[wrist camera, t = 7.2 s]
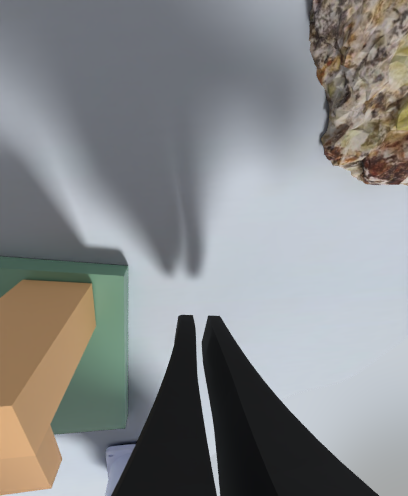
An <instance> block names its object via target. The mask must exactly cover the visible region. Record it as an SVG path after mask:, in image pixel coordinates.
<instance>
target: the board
mask: <svg viewBox="0 0 408 496" xmlns="http://www.w3.org/2000/svg"><path fill="white" fill-rule="evenodd" d="M22 280H39V281H57V282H75V283H92V289H93V300H94V310H95V320H96V327H95V329H94V332H93V334H92V336H91V338H90V340H89V342H88V344H87V347H86V349H85V351H84V353H83V355H82V357H81V359H80V361H79V364H78V366H77V368H76V370H75V372H74V374H73V376H72V379H71V381H70V383H69V385H68V387H67V389H66V391H65V394H64V396H63V398H62V400H61V402H60V404H59V406H58V409H57V411H56V413H55V415H54V417H53V419H52V421H51V424H50V425H51V428H52V431H53V434H65V433H77V432H88V431H100V430H112V429H124V428H125V427H126V422H127V416H128V266H124V265H110V264H97V263H83V262H70V261H56V260H43V259H29V258H16V257H2V256H0V298H1V297H2V296H3V295H5V294H6V293H7V292H8V291H9V290H11V289H12V288H13V287H14V286H16V285H17V284H18V283H19V282H20V281H22Z"/></svg>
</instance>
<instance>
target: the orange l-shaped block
mask: <svg viewBox="0 0 408 496" xmlns="http://www.w3.org/2000/svg"><path fill="white" fill-rule="evenodd" d="M95 327H96V320H95V310H94V300H93V289H92V283H75V282H57V281H39V280H22V281H20V282H19V283H18V284H17V285H16V286H14V287H13V288H12V289H11V290H9V291H8V292H7V293H6V294H5V295H3V296H2V297H1V298H0V495H5V494H13V493H20V492H28V491H35V490H42V489H50V488H52V485H53V482H54V480H55V477H56V474H57V472H58V469H59V466H60V463H61V461H62V457H61V454H60V451H59V448H58V445H57V442H56V440H55V437H54V434H53V431H52V428H51V425H50V424H51V421H52V419H53V417H54V415H55V413H56V411H57V409H58V406H59V404H60V402H61V400H62V398H63V396H64V394H65V391H66V389H67V387H68V385H69V383H70V381H71V379H72V376H73V374H74V372H75V370H76V368H77V366H78V364H79V361H80V359H81V357H82V355H83V353H84V351H85V349H86V347H87V344H88V342H89V340H90V338H91V336H92V334H93V332H94V329H95Z"/></svg>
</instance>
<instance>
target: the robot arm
mask: <svg viewBox="0 0 408 496" xmlns="http://www.w3.org/2000/svg"><path fill="white" fill-rule="evenodd" d="M202 355H203V365H204V371H205V377H206V383H207V389H208V394H209V400H210V406H211V411H212V417H213V424H214V432H215V442H216V452H217V463H218V474H219V486H220V496H379V495H378V494H377V493H375V492H374V491H373V490H372V489H371V488H370V487H369V486H367V485H366V484H365V483H364V482H363V481H362V480H361V479H359V477H357V476H356V475H355V474H354V473H353V472H352V471H351V470H349V469H348V468H347V467H346V466H345V465H344V464H342V462H340V461H339V460H338V459H337V458H336V457H335V456H334V455H333V454H332V453H331V452H330V451H329V450H328V449H327V448H326V447H325V446H324V445H322V443H320V442H319V441H318V440H317V439H316V438H315V436H314V435H313V434H312V433H310V431H308V429H307V428H306V427H305V426H304V425H303V424H302V423H301V422H300V421H299V420H298V419H297V418H296V417H295V416H294V415H293V414H292V413H291V412H290V411H289V409H288V408H287V407H286V406H285V405H284V404H283V403H282V402H281V400H280V399H279V398H278V397H277V396H276V395H275V394H274V392H273V391H272V390H271V389H270V388H269V386H268V385H267V384H266V383H265V381H264V380H263V379H262V378H261V376H260V375H259V374H258V372H257V371H256V370H255V368H254V367H253V366H252V364H251V363H250V362H249V360H248V359H247V358H246V356H245V355H244V353H243V352H242V350H241V349H240V347H239V346H238V344H237V343H236V341H235V340H234V338H233V337H232V335H231V333H230V332H229V330H228V329H227V327H226V325H225V324H224V322H223V320H222V319H221V317H220V316H208V319H207V323H206V327H205V331H204V335H203V339H202ZM106 462H107V471H108V484H107V489H106V493H105V496H217V494H216V489H215V483H214V478H213V472H212V467H211V461H210V455H209V450H208V444H207V438H206V432H205V426H204V420H203V413H202V407H201V400H200V393H199V386H198V377H197V358H196V331H195V323H194V319H193V315H180V316H178V322H177V328H176V335H175V342H174V347H173V351H172V355H171V358H170V361H169V364H168V367H167V370H166V373H165V376H164V379H163V381H162V384H161V387H160V389H159V392H158V394H157V397H156V399H155V402H154V404H153V407H152V409H151V411H150V414H149V416H148V418H147V421H146V423H145V425H144V428H143V430H142V432H141V434H140V436H139V439H138V441H137V443H136V444H128V445H119V446H110V447H108V448H107V450H106Z"/></svg>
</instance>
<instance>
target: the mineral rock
mask: <svg viewBox="0 0 408 496" xmlns="http://www.w3.org/2000/svg"><path fill="white" fill-rule="evenodd" d="M309 26H310V37H309V41H310V42H311V45H310V52H311V54H312V57H313V60H314V62H315V63H314V64H315V65H316V67H317V78H318V80H319V81H320V83H321V85H322V86H323V87H324V89H325V92H326V98H327V101H328V104H329V122H328V127H327V131H326V132H325V134H324V135H323V137H322V138H321V140H322V145H323V147H324V149H325V150H324V155H326V157H327V159H328V160H331V163H332V164H333V166H339V167H342V168H344V169H346V170H349V171H351V175H352V176H353V177H355V178H357V179H358V180H360V181H363V182H364V183H365V184H371V185H399V184H404V185H407V186H408V0H313V3H312V9H311V11H310V25H309Z"/></svg>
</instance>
